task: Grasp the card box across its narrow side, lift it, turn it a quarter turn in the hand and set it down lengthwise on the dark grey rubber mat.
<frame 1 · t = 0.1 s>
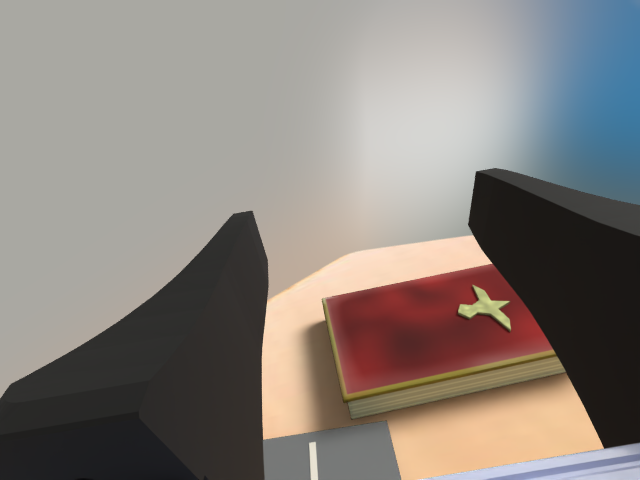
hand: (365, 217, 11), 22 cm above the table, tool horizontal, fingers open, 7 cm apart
hardcover book: (439, 345, 33), on the table
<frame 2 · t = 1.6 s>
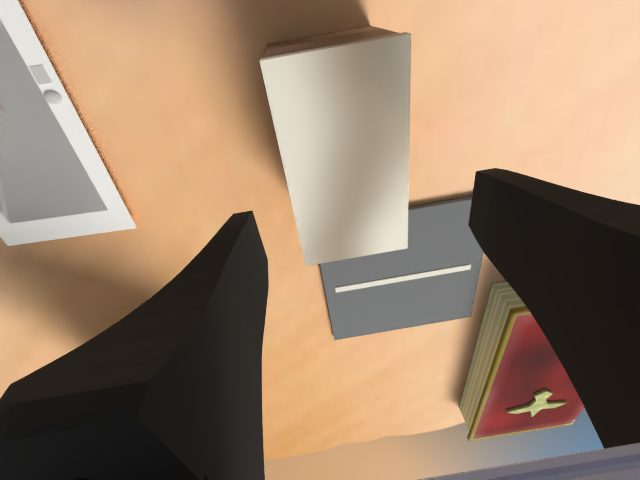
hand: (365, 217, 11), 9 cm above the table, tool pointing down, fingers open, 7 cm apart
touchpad: (5, 103, 17), on the table
card box: (330, 128, 18), on the table
mat: (401, 274, 25), on the table
hardcover book: (523, 342, 34), on the table
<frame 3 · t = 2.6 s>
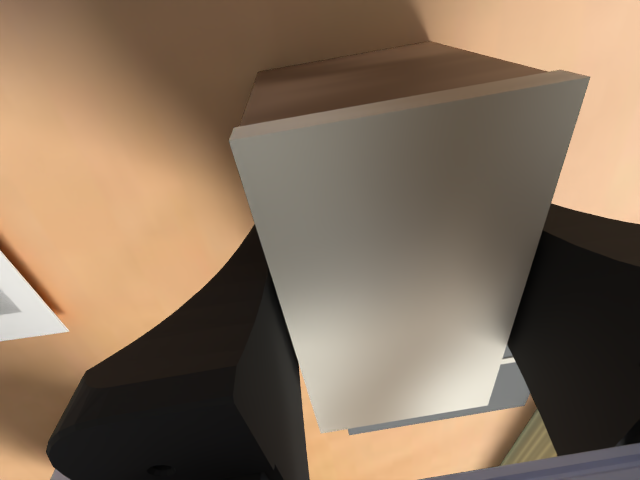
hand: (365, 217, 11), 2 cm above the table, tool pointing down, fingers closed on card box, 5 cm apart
card box: (355, 193, 12), on the table, touching gripper
mat: (440, 364, 19), on the table
hardcover book: (578, 421, 27), on the table
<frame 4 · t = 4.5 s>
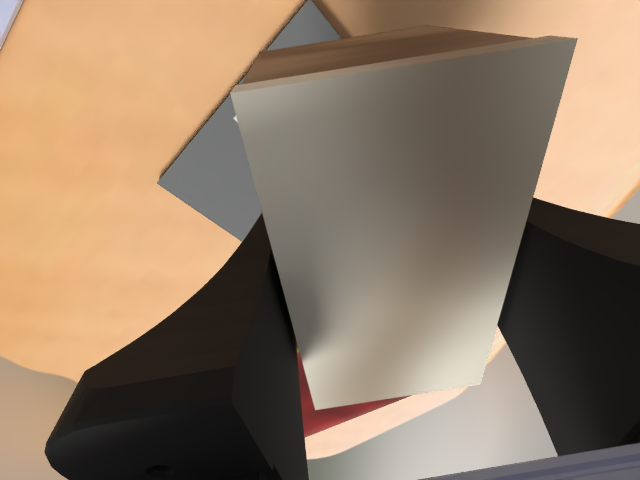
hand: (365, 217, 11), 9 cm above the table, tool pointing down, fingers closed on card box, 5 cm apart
card box: (353, 177, 12), point 7 cm above the table, touching gripper
mat: (308, 177, 19), on the table
hardcover book: (304, 355, 30), on the table
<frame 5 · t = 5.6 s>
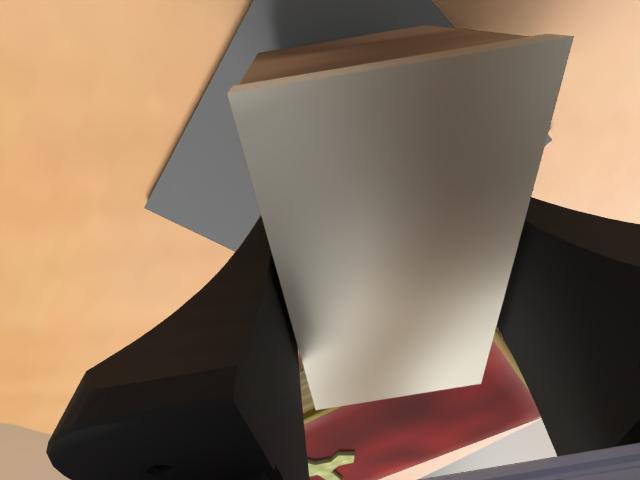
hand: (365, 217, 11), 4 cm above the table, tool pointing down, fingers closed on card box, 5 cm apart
card box: (353, 177, 12), point 2 cm above the table, touching gripper
mat: (346, 169, 14), on the table
hardcover book: (361, 385, 25), on the table
when the fingers open (3 cm above the table, at t = 6.3 s): card box stays where it is, resting on mat.
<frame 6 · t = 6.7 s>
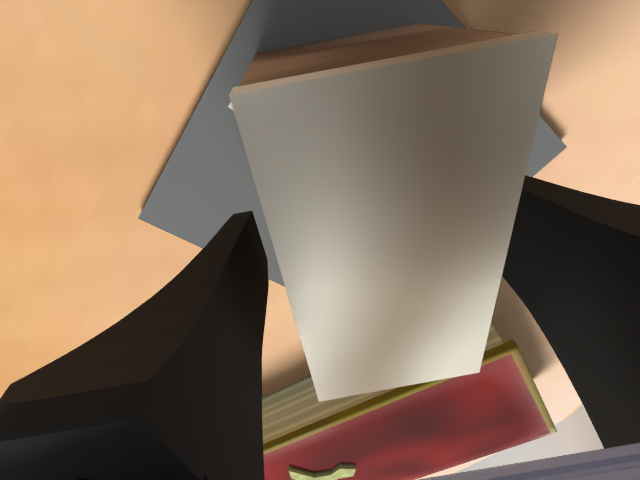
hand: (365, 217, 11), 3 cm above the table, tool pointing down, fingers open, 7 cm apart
card box: (350, 174, 13), resting on mat
mat: (350, 178, 13), on the table
hardcover book: (362, 395, 24), on the table
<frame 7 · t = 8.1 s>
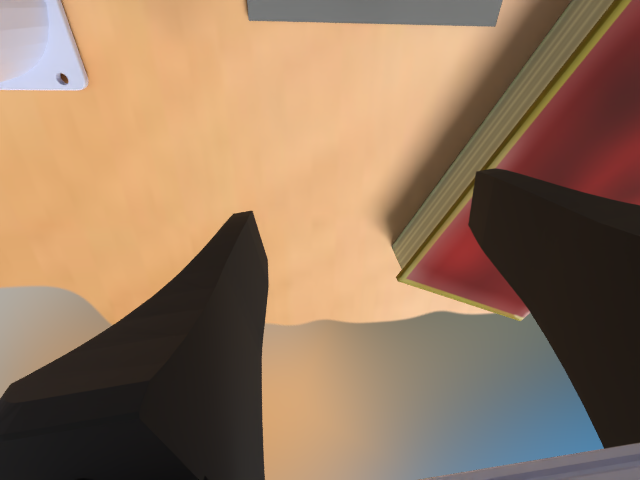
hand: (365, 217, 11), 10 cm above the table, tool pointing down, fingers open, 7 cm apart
hardcover book: (541, 152, 22), on the table
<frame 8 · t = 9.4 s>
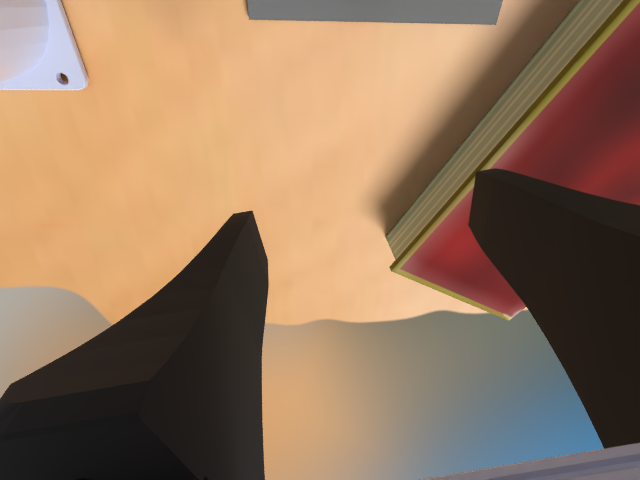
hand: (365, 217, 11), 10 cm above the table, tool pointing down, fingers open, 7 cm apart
hardcover book: (541, 150, 22), on the table
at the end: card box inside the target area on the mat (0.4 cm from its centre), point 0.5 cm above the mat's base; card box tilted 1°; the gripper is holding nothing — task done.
